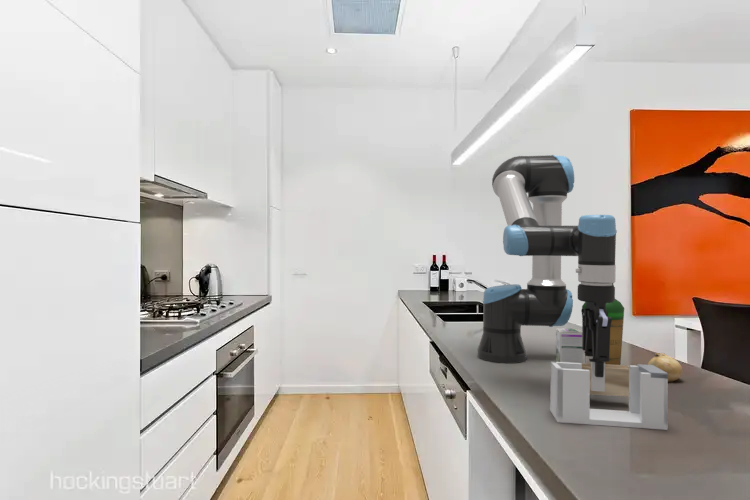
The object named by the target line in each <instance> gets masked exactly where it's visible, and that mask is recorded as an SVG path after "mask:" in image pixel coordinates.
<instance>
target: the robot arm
mask: <svg viewBox="0 0 750 500" xmlns="http://www.w3.org/2000/svg"><path fill="white" fill-rule="evenodd" d="M491 181H492V182H491V186H492V190H493V192H494V194H495V195H496V196H497V197H498V198H499V201H500V205H501V208H502V211H503V214H504V218H505V221H506V225H507V226H505V228H504V229H503V234H502V244H503V251H504V253H506V255H510V256H519V257H532V264H531V267H532V268H531V269H532V270H531V278H530V280H529V281H528V282H527V283H526V284H527V285H526V288H522V286H521V285H520V284H502V285H495V286H489V287H487V288H485V290H484V291H483V300H482V304H483V310H482V311H483V313H482V315H483V316H482V317H483V321H482V324H483V325H482V328H483V329H482V330H483V332H482V334H481V338H480V340H479V345H478V348H477V353H476V354H477V358H479V359H481V360H484V361H488V362H494V363H502V364H503V363H504V364H505V363H507V364H511V363H512V364H513V363H522V362H525V361H526V360H527V351H526V348H525V343H524V341H523V337H522V335H521V334H522V333H521V326H535V327H536V326H537V327H538V326H539V327H549V328H552V327H563V326H565V325H566V324H568V322H569V321H570V320H571V319H570V318H571V316H572V312H573V307H574V306H573V305H574V300H573V293H572V291H571V290H569V289H568V288H567V284H566V283H565V282H564V281H563V279H562V257H577V265H578V266H577V267H578V268H575V273H577V281H578V282H579V284H578V285H577V299H578V300H579V301H580V302H584V303H585V302H586V309H584V308H582V307H581V310H580V311H581V320H582V321H581V323H582V325H581V328H582V330H581V332H582V349H583V350H584V363H591V391H603V392H605V362H609V351H610V327H611V322H612V318H611V317H608V312H607V311H606V303H612V302H614V301H615V299H616V297H615V296H616V287H615V285H614V284H615V283H616V268H617V267H616V244H617V239H616V238H617V232H618V230H617V227H616V226H617V225H616V218H615V216H613V215H611V214H585V215H581V216H580V217H579V219H578V224H577V225H562V215H563V211H562V210H563V209H562V208H563V206H562V205H563V203H564V201H566V200H567V198H568V194H569V193H571V192H572V191H573V190H574V185H575V184H574V183H575V171H574V166H573V164H572V161H571V160H570V159H569V158H568V157H567V156H564V155H554V154H550V155H548V154H547V155H518V156H513V157H511V158H508V159H507V160H505V161H503V162H502V163H501V164H500V165H499V166H498V167H497V169H496V170H495V172H494V173H493V175H492V179H491ZM531 203H532V205H531ZM612 283H613V285H614V286H613V285H612ZM585 355H587V356H585Z"/></svg>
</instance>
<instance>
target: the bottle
mask: <svg viewBox="0 0 750 500" xmlns="http://www.w3.org/2000/svg"><path fill="white" fill-rule="evenodd" d="M612 285H613V286H614V287H615V285H614V283H612ZM582 308H584V309H586V302H584V303H583V304H582V306H581V309H582ZM606 311H607V312H608V317H611V318H612V322H611V327H610V351H609V362H605V364H611V365H622V364H621V362H622V361H621V360H622V359H621V358H622V351H623V350H622V349H623V335H624V334H623V333H624V318H625V307H624V306H623V304H622V302H621V301H619V300H618V299H617V298H615V301H614V302H612V303H606ZM585 356H587V355H585V354H584V357H585Z"/></svg>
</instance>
